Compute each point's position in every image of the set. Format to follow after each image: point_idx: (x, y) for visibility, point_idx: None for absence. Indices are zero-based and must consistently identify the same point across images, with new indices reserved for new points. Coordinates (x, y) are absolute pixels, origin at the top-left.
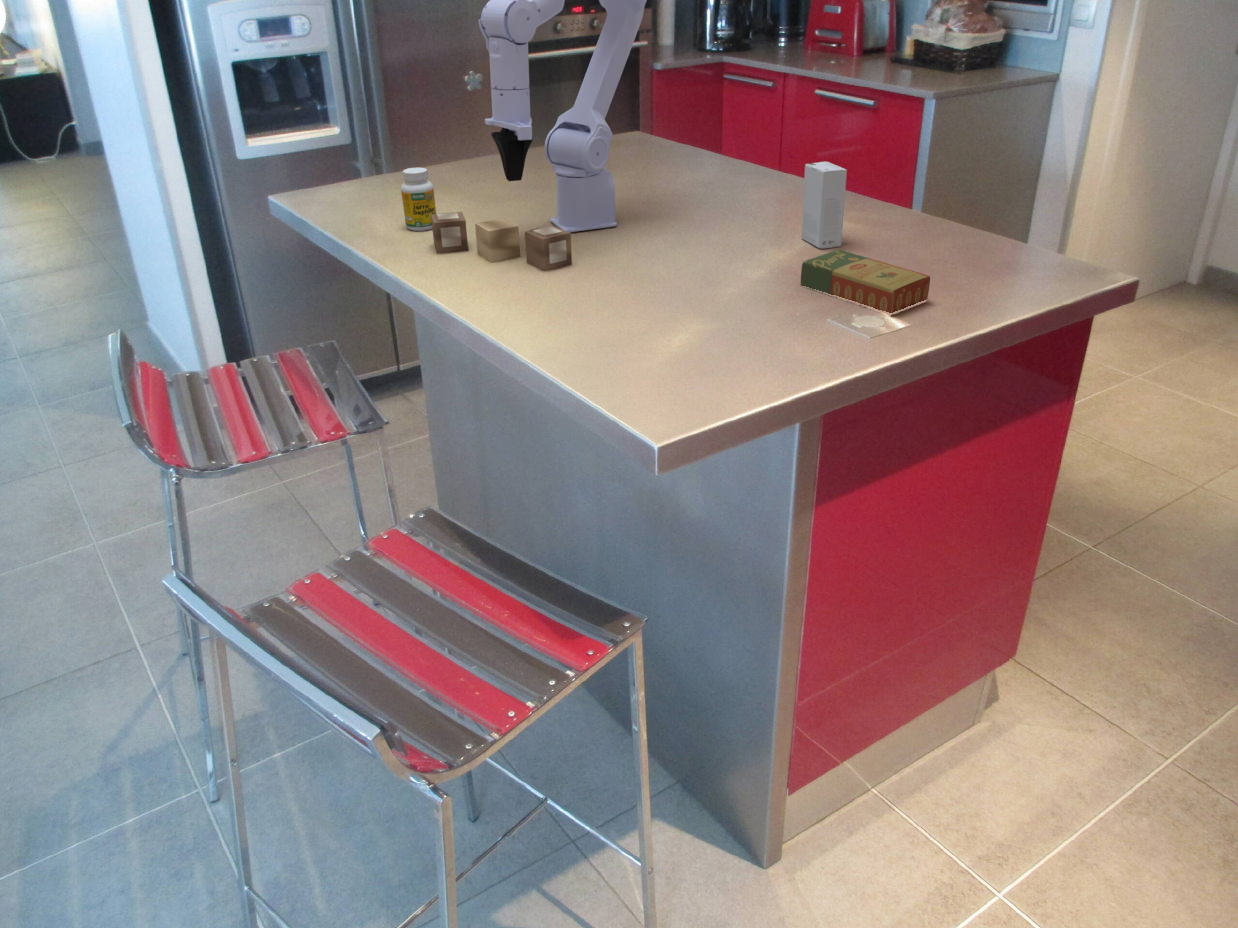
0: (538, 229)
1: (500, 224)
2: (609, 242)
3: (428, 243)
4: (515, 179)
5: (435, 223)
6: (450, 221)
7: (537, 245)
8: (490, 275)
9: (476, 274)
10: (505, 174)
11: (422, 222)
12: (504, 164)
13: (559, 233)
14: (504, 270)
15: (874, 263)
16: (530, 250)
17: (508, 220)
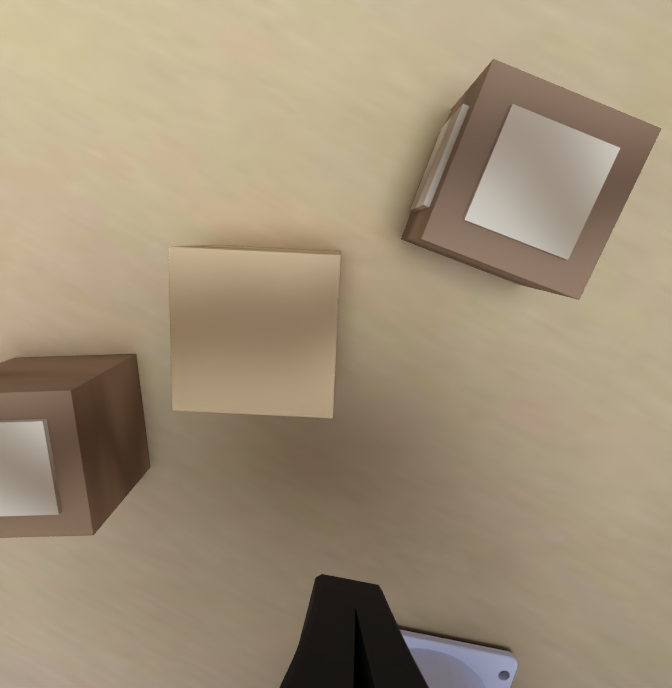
0: (44, 449)
1: (245, 353)
2: (181, 678)
3: None
4: (304, 623)
5: (487, 72)
6: (457, 159)
7: None
8: (74, 168)
9: (114, 126)
10: (370, 605)
11: None
12: (341, 668)
13: None
14: (101, 243)
15: None
16: (71, 369)
17: (281, 415)
